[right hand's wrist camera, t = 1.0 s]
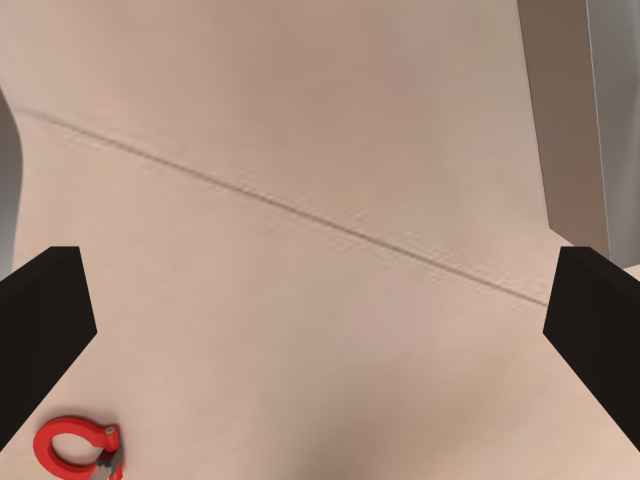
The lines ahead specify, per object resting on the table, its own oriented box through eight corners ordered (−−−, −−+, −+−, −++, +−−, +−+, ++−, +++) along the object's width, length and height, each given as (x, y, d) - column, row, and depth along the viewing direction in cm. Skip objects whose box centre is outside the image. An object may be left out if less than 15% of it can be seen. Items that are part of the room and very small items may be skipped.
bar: (504, -90, 32) (571, -146, 23) (580, -117, 31) (677, -186, 23) (549, 228, 40) (611, 272, 32) (609, 211, 40) (688, 251, 31)
